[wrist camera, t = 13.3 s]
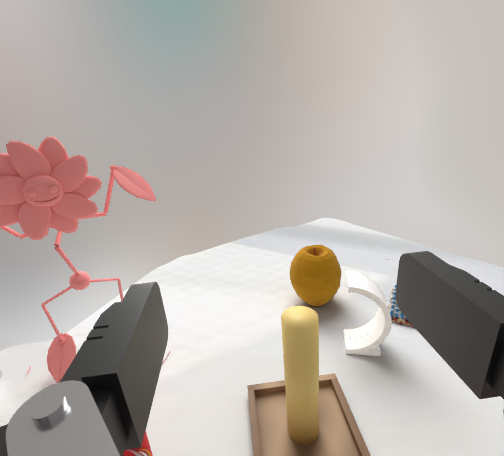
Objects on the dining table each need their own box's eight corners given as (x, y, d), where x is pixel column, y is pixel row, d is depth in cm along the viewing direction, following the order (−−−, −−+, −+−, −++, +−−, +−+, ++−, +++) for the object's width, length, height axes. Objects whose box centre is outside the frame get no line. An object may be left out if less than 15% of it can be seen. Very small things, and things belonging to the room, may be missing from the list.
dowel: (291, 446, 33) (285, 332, 27) (284, 416, 36) (278, 308, 30) (322, 442, 33) (323, 326, 27) (313, 412, 36) (312, 303, 31)
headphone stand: (343, 332, 49) (345, 270, 45) (381, 335, 48) (388, 271, 44) (345, 353, 45) (348, 286, 41) (387, 357, 44) (395, 288, 40)
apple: (311, 281, 65) (311, 232, 61) (351, 298, 58) (353, 244, 54) (281, 301, 59) (278, 248, 55) (321, 322, 52) (321, 264, 48)
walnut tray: (258, 501, 29) (257, 491, 28) (248, 394, 40) (247, 385, 40) (376, 482, 30) (377, 472, 29) (334, 382, 41) (334, 373, 40)
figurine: (11, 375, 47) (-106, 148, 33) (170, 313, 58) (132, 127, 45) (-7, 467, 34) (-203, 165, 21) (200, 364, 46) (158, 130, 33)
